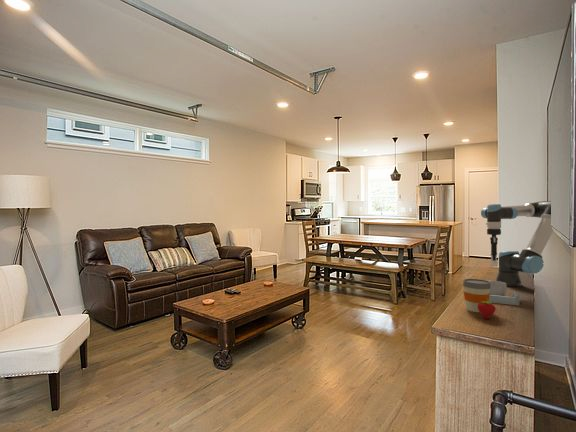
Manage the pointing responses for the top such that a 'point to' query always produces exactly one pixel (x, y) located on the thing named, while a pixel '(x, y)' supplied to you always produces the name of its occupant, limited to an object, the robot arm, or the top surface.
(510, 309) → the top surface
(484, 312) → the strawberry
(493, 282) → the teacup
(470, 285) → the reusable coffee cup
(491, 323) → the top surface
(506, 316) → the top surface
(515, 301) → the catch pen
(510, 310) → the top surface
